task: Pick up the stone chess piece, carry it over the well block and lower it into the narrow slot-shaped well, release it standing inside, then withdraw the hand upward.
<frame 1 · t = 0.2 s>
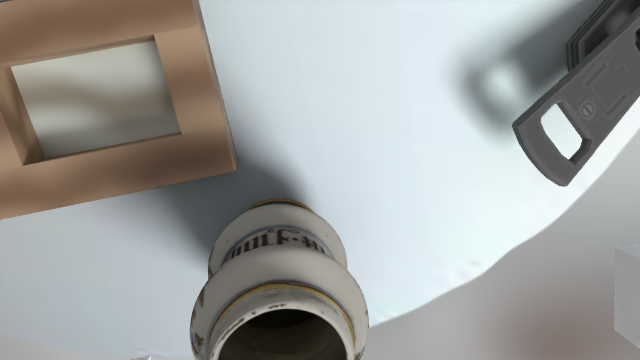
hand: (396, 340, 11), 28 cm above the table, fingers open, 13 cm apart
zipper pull: (589, 62, 38), on the table
apothecary jar: (279, 243, 39), on the table
well block: (105, 99, 34), on the table
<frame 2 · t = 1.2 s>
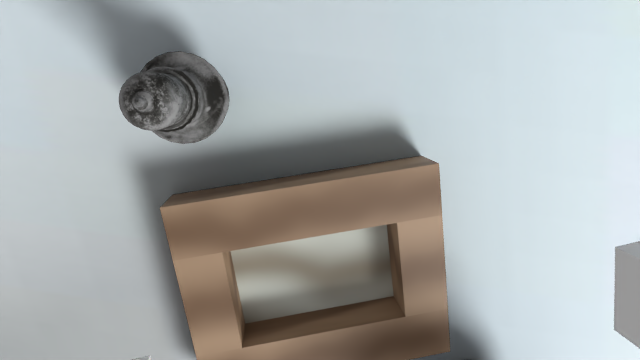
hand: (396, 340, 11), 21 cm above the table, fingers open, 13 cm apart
stone chess piece: (193, 97, 29), on the table
well block: (313, 265, 33), on the table
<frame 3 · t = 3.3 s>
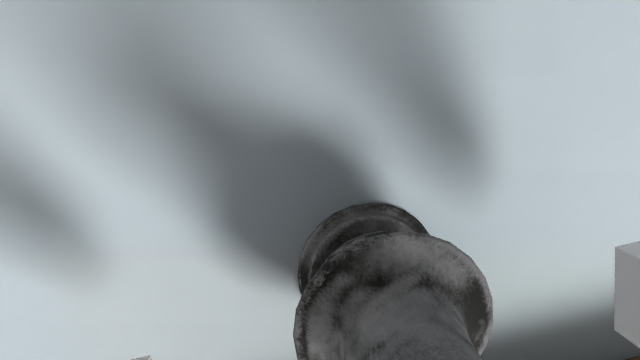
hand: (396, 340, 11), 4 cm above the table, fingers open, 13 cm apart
stone chess piece: (366, 267, 15), on the table
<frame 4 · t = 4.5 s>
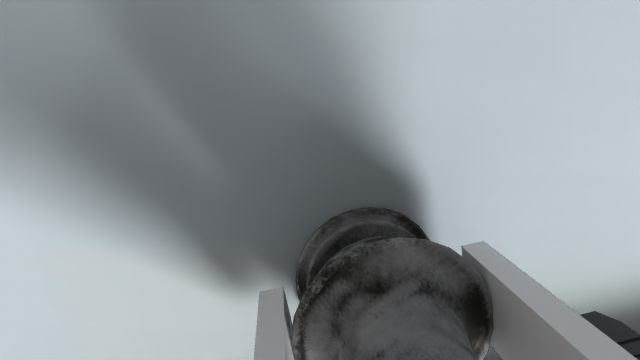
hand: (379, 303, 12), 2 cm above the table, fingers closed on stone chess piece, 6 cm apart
stone chess piece: (365, 272, 15), on the table, touching gripper
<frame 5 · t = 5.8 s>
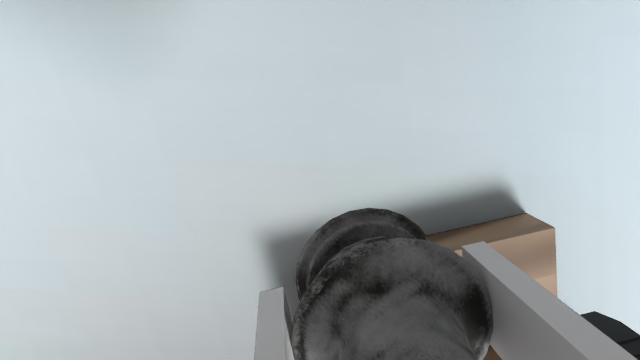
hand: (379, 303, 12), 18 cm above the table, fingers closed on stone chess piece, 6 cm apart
stone chess piece: (365, 273, 15), point 16 cm above the table, touching gripper
well block: (425, 319, 35), on the table
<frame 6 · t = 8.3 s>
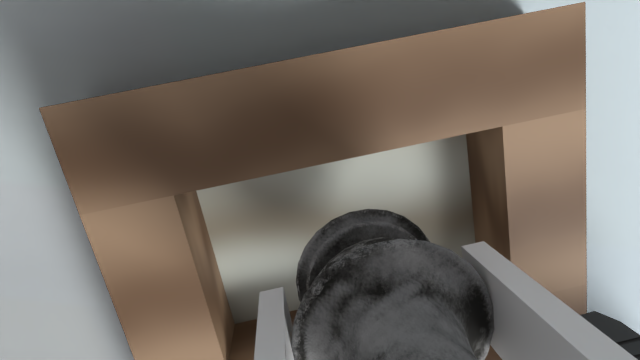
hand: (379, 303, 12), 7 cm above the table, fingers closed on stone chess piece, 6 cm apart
stone chess piece: (365, 273, 15), point 5 cm above the table, touching gripper
well block: (344, 223, 19), on the table
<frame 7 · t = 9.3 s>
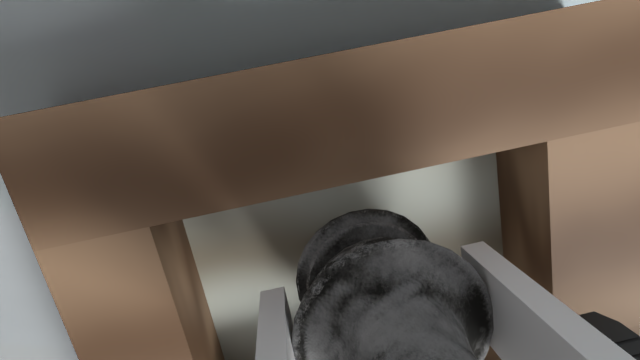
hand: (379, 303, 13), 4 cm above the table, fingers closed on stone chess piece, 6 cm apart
stone chess piece: (365, 273, 15), point 2 cm above the table, touching gripper
well block: (353, 250, 17), on the table
when the fingers open (4 cm above the table, at t = 9.5 s): stone chess piece drops 2 cm, resting on well block.
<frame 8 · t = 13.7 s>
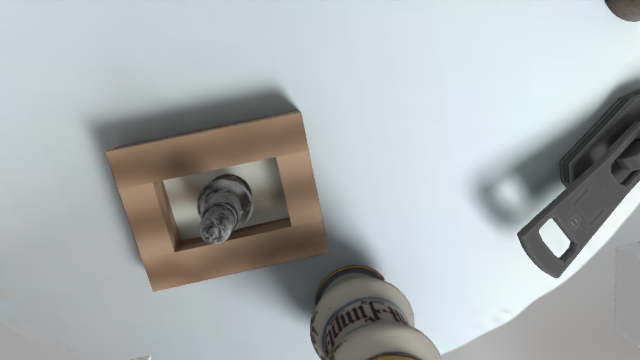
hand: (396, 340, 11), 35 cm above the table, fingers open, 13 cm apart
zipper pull: (577, 173, 49), on the table
stone chess piece: (229, 195, 45), resting on well block
apothecary jar: (353, 299, 50), on the table
well block: (228, 196, 45), on the table
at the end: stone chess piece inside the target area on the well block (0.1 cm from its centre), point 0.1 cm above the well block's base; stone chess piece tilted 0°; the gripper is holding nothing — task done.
